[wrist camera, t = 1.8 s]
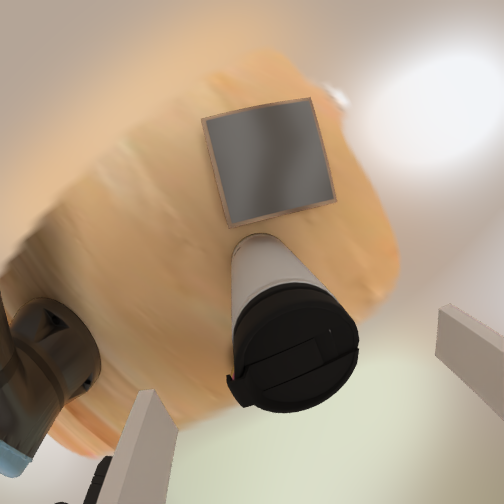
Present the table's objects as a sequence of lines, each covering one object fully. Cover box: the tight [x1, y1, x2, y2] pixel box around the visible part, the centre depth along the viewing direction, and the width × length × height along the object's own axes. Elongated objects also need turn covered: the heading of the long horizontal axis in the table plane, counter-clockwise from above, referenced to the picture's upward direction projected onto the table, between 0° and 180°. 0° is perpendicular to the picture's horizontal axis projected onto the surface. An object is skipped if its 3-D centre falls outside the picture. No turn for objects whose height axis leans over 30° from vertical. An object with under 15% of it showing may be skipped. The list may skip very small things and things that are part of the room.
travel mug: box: [227, 233, 359, 413], centre depth 21 cm, size 6×7×20 cm
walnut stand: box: [201, 97, 337, 229], centre depth 26 cm, size 10×10×6 cm
